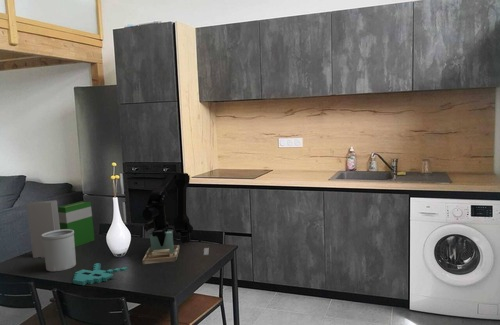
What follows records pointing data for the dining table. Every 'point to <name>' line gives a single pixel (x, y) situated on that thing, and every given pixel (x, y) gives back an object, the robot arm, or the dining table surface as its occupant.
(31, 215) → the grey upright box
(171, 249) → the teal square block
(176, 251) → the rack
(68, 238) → the utensil holder
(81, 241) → the hardback book
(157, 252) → the pine offcut
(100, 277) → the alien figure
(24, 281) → the dining table surface
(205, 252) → the grey mat
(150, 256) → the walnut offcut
